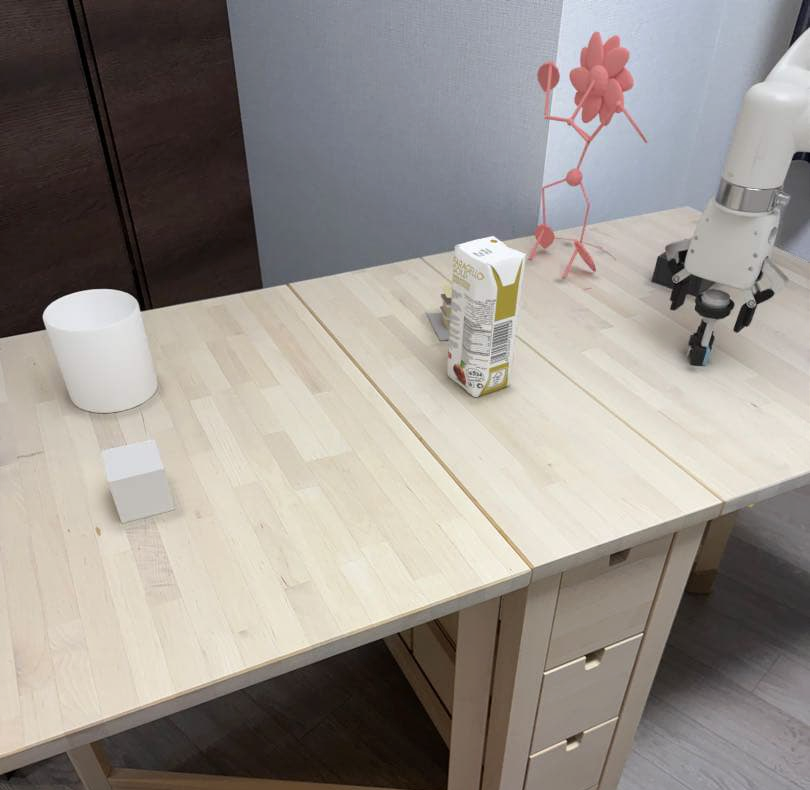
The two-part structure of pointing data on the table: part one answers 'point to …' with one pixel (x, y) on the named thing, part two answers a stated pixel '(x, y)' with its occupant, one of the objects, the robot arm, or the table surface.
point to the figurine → (588, 113)
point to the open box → (665, 276)
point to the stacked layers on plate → (443, 315)
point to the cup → (101, 349)
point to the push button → (708, 323)
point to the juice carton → (484, 314)
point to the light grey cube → (137, 480)
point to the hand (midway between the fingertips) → (707, 317)
